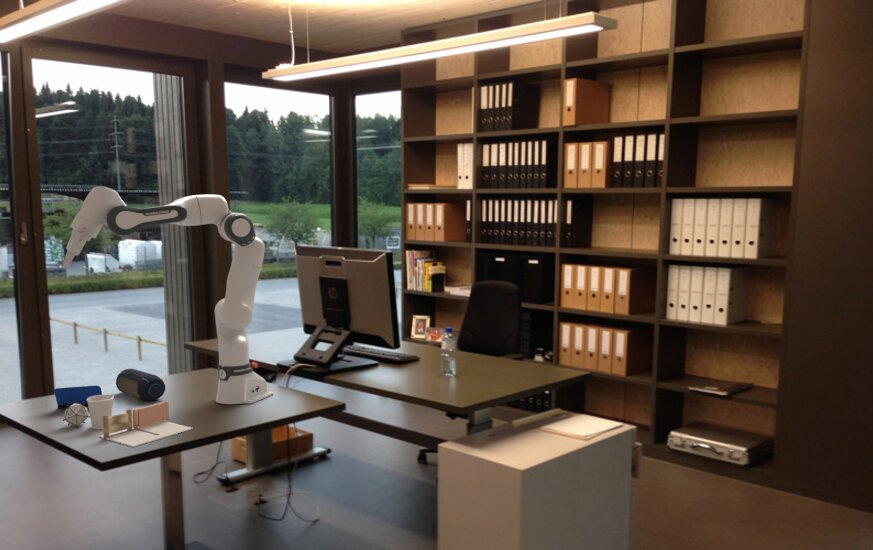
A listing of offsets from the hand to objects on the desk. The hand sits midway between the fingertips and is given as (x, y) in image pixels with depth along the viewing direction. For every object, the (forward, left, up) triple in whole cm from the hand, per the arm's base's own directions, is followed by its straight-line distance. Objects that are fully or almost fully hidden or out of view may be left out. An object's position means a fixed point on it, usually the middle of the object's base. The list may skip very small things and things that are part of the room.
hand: (65, 264), depth 244 cm
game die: (+3, +8, -55) cm, 55 cm away
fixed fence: (+1, +29, -54) cm, 61 cm away
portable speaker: (-32, -8, -55) cm, 64 cm away
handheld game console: (-12, -14, -55) cm, 58 cm away
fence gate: (-11, +29, -54) cm, 62 cm away
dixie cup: (-1, +16, -54) cm, 57 cm away
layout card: (-5, +35, -54) cm, 65 cm away
